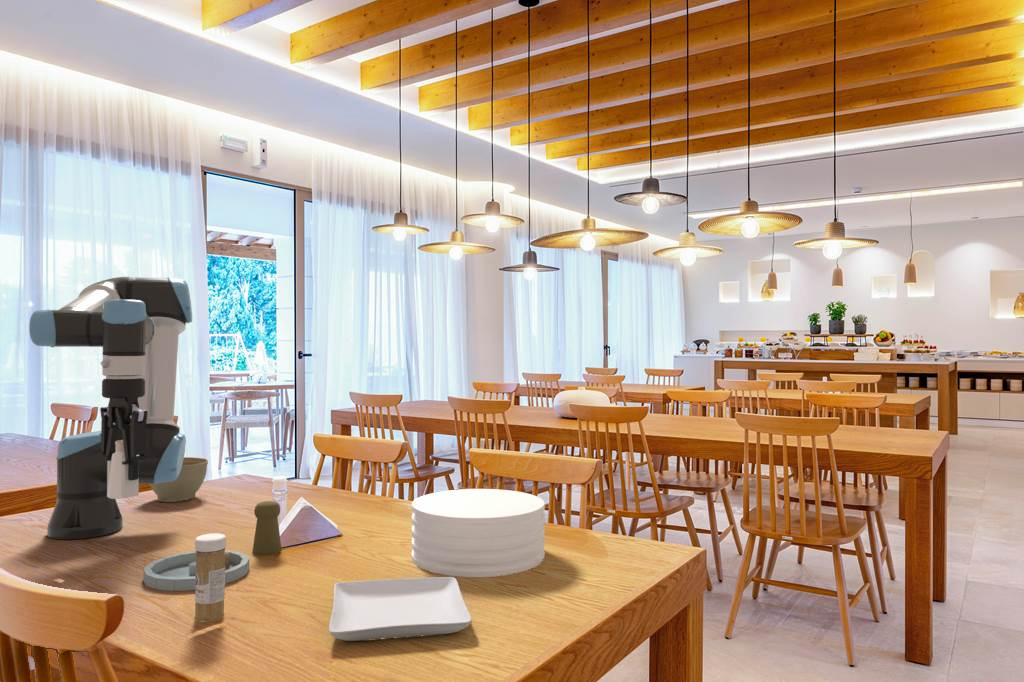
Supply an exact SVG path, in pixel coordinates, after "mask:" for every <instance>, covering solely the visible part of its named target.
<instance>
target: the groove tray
mask: <svg viewBox="0 0 1024 682" xmlns="http://www.w3.org/2000/svg"><path fill="white" fill-rule="evenodd" d="M225 552H228V553H230V569H228V570H225V585H226V584H230V583H232V582H235V581H238V580H240V579H241V578H243V577H244V576H246V575H247V574H248V572H249V570H250V557H249V556H248V555H247V553H243V552H240V551H236V550H229V549H225ZM143 582H144V583H143V584H144V585H145V586H146V587H149V588H150V589H153V590H157V591H167V592H168V591H169V592H183V591H195V585H196V550H194V551H188V552H187V551H186V552H181V553H176V554H172V555H168V556H164V557H161V558H159V559H156V560H153V561H151V562H150V563H148V564H147V565H146V566H144V568H143Z"/></svg>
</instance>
